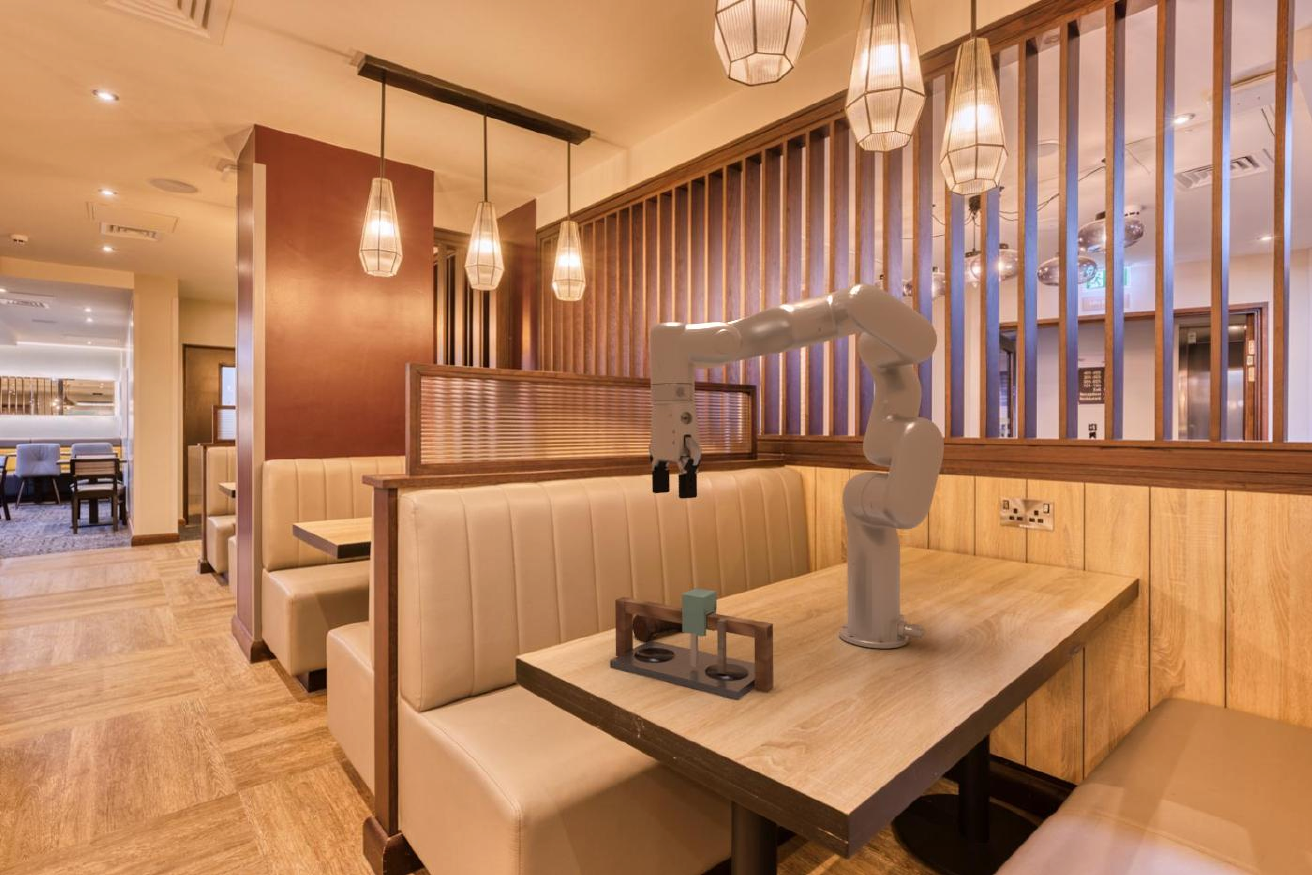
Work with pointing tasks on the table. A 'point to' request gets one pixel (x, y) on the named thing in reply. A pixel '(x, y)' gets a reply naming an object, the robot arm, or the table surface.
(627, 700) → the table surface
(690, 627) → the slider block
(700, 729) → the table surface
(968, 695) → the table surface
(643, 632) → the bolt
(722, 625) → the beam
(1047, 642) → the table surface
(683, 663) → the hole plate
